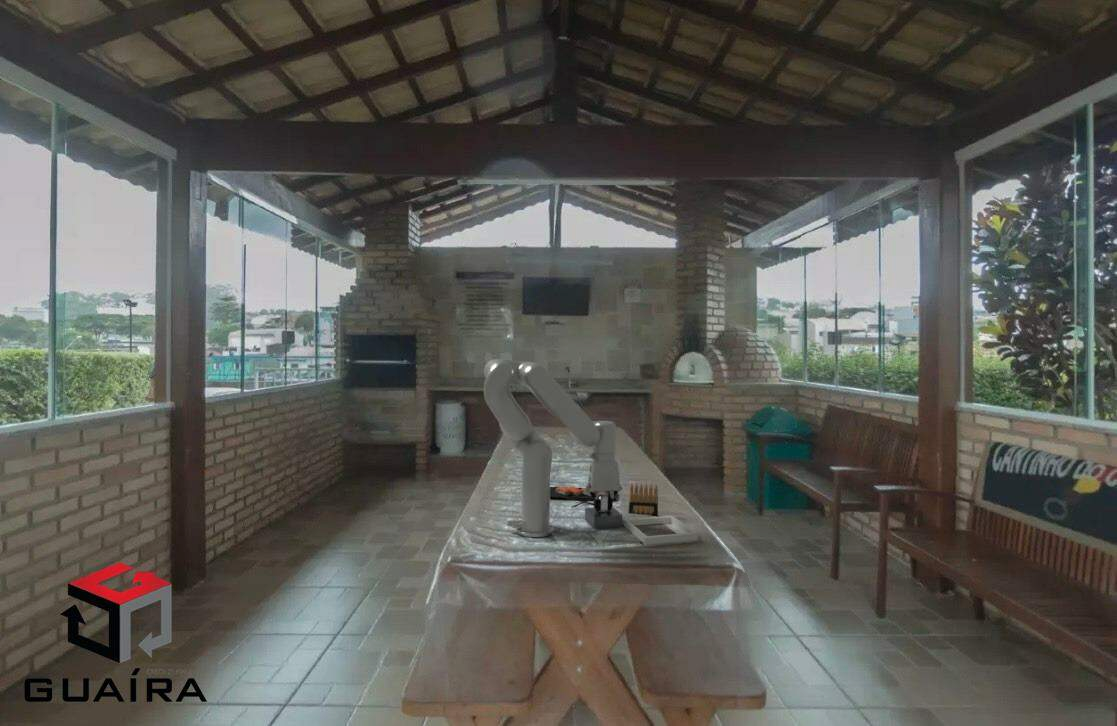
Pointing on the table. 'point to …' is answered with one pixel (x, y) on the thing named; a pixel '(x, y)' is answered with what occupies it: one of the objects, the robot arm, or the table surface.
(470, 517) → the table surface
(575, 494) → the sushi plate
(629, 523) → the tray
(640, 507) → the ammunition clip
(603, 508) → the pin
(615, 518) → the pin block
